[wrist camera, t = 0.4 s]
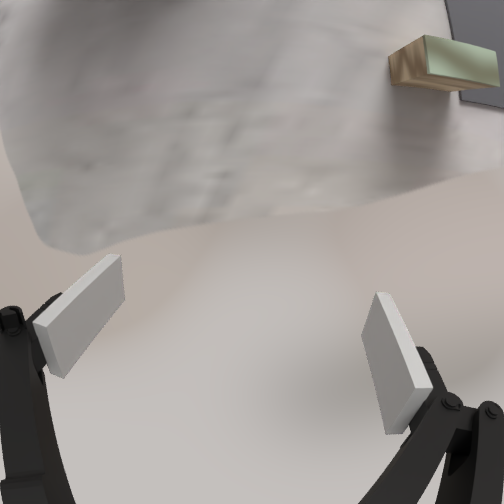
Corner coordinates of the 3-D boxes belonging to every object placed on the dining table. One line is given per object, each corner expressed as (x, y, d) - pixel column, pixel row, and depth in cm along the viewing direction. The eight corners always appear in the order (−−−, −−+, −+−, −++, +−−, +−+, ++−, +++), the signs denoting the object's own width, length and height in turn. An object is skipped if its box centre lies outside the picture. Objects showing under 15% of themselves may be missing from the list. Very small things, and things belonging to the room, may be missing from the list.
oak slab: (388, 56, 32) (424, 34, 21) (447, 64, 30) (495, 51, 19) (391, 85, 33) (429, 73, 22) (450, 91, 32) (500, 86, 21)
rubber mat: (438, -24, 25) (439, -26, 24) (508, -1, 23) (509, -1, 22) (459, 99, 32) (461, 99, 32) (526, 113, 30) (528, 113, 30)
